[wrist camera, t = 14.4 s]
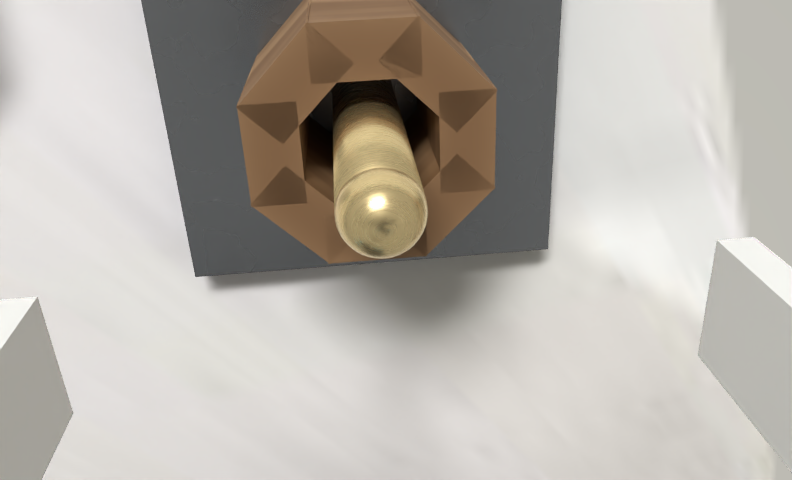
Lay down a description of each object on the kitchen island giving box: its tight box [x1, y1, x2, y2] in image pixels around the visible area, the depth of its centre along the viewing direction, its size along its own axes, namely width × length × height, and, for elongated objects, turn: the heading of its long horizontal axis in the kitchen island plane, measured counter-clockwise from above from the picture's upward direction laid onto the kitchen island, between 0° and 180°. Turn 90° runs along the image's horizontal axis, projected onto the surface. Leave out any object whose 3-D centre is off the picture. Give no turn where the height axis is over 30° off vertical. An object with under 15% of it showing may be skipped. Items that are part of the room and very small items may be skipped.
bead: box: [236, 0, 497, 264], centre depth 26 cm, size 8×8×7 cm
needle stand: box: [141, 0, 562, 277], centre depth 24 cm, size 16×16×15 cm
